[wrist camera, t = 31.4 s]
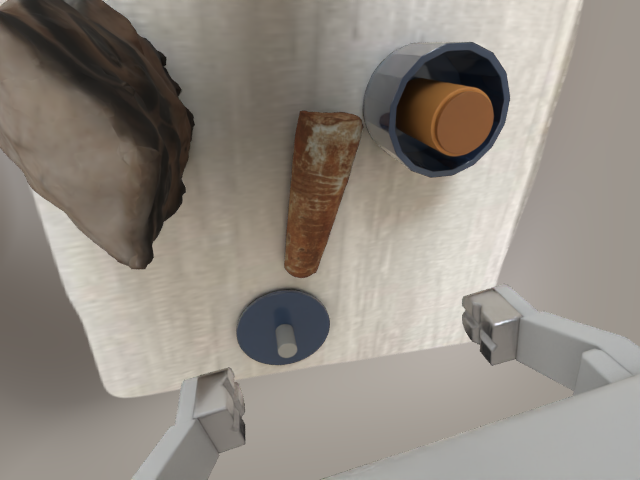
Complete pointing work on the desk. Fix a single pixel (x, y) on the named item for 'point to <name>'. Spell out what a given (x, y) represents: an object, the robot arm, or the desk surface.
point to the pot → (441, 65)
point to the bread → (318, 184)
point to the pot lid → (283, 327)
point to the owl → (93, 120)
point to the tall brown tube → (445, 115)
